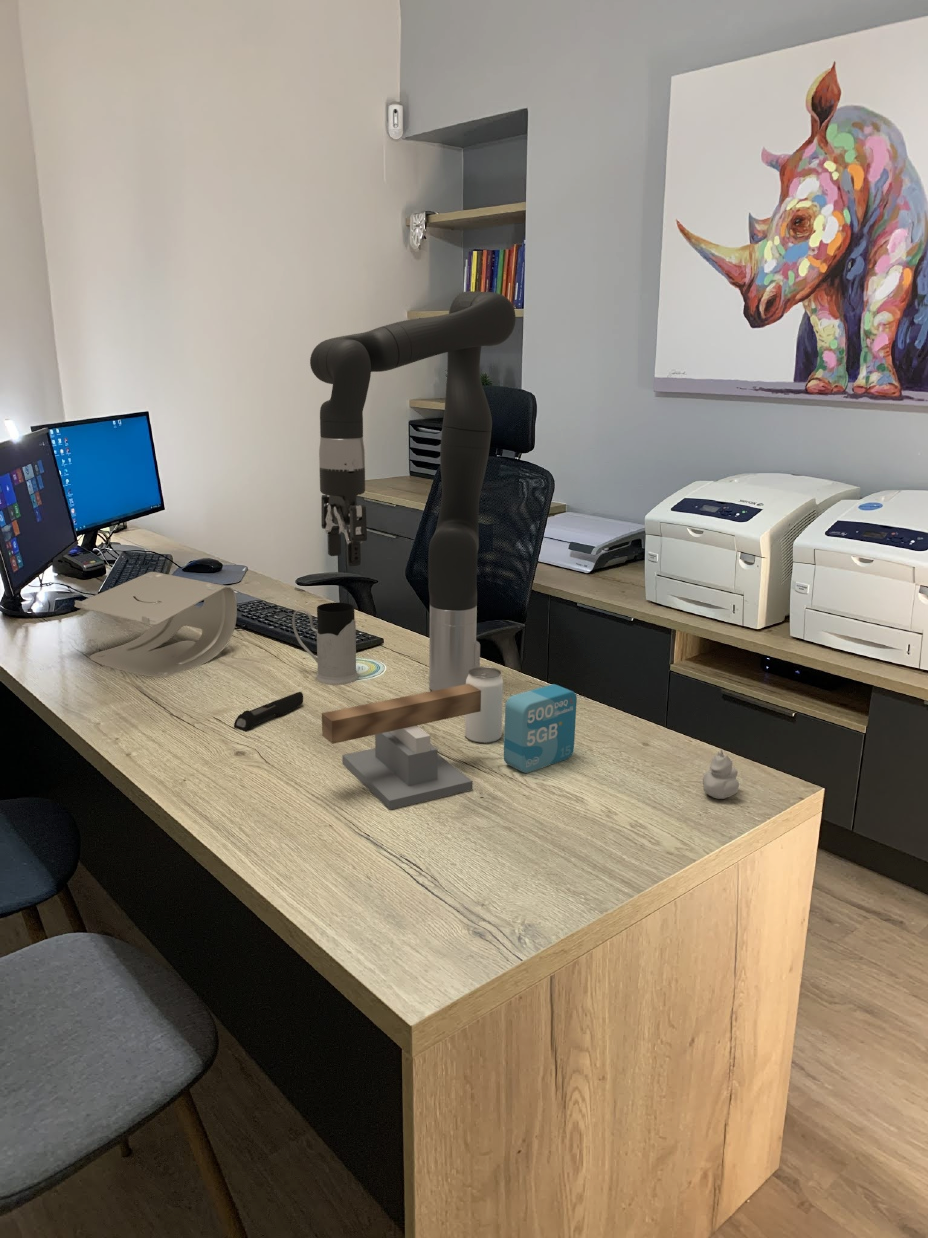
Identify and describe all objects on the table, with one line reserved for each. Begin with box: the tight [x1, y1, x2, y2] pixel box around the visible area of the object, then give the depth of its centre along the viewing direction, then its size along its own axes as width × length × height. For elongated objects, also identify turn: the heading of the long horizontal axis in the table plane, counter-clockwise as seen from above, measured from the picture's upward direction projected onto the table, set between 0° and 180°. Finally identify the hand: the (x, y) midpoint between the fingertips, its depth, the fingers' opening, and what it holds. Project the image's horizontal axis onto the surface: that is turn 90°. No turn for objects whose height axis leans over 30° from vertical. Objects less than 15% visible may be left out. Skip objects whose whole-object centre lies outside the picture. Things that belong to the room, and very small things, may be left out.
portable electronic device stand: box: [74, 571, 238, 678], centre depth 199 cm, size 26×24×16 cm
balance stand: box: [341, 725, 473, 811], centre depth 144 cm, size 14×18×9 cm
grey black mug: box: [291, 602, 359, 686], centre depth 188 cm, size 9×14×15 cm, turn 71°
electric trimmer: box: [233, 691, 304, 732], centre depth 168 cm, size 4×16×3 cm, turn 146°
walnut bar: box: [321, 684, 481, 745], centre depth 143 cm, size 26×4×4 cm, turn 122°
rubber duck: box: [702, 748, 740, 800], centre depth 140 cm, size 5×7×8 cm
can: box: [464, 666, 504, 744], centre depth 160 cm, size 6×6×12 cm
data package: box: [503, 683, 578, 774], centre depth 150 cm, size 12×4×12 cm, turn 129°
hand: (344, 560), depth 157 cm, fingers open, 8 cm apart
